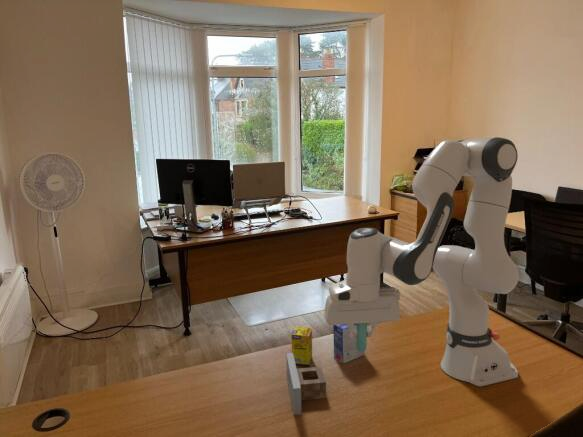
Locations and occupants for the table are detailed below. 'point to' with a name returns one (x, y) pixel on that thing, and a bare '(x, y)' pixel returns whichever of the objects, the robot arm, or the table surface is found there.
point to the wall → (293, 384)
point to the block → (312, 383)
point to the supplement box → (302, 346)
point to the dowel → (361, 336)
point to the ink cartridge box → (345, 344)
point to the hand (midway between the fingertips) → (361, 336)
